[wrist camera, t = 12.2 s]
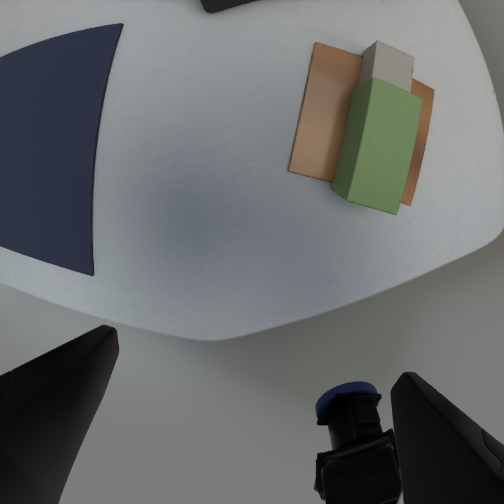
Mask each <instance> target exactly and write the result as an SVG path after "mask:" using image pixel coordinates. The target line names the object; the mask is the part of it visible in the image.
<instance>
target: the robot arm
mask: <svg viewBox="0 0 504 504" xmlns="http://www.w3.org/2000/svg"><path fill="white" fill-rule="evenodd" d="M118 354H119V344H118V336H117V330H116V329H115V328H114V327H111V326H107V325H101V326H99V327H97V328H95V329H93V330H91V331H89V332H87V333H85V334H83V335H81V336H79V337H77V338H75V339H73V340H71V341H69V342H67V343H65V344H63V345H61V346H59V347H57V348H55V349H53V350H51V351H49V352H47V353H45V354H43V355H41V356H39V357H37V358H35V359H33V360H31V361H29V362H27V363H25V364H23V365H21V366H19V367H17V368H15V369H13V370H12V371H9V372H7V373H5V374H3V375H1V376H0V504H59V501H60V497H61V495H62V492H63V489H64V487H65V484H66V481H67V478H68V476H69V473H70V471H71V468H72V466H73V464H74V461H75V459H76V456H77V454H78V451H79V449H80V447H81V444H82V442H83V440H84V437H85V435H86V433H87V431H88V429H89V426H90V424H91V422H92V420H93V418H94V415H95V413H96V411H97V409H98V407H99V405H100V403H101V401H102V398H103V396H104V394H105V391H106V388H107V385H108V382H109V379H110V377H111V374H112V371H113V368H114V365H115V363H116V360H117V357H118ZM390 395H391V404H392V414H393V426H394V432H393V429H389V430H388V431H386V432H382V428H381V425H380V417H379V414H378V412H377V408H376V405H377V404H378V402H379V401H380V400H381V398H382V395H381V394H351V393H337V394H335V395H334V396H333V397H332V399H331V400H330V402H329V404H328V405H327V407H326V408H325V410H324V411H323V413H322V414H321V416H320V417H319V419H318V420H317V425H319V426H328V428H329V434H330V440H331V445H332V450H331V451H327V452H324V453H322V452H321V453H318V454H317V459H316V479H315V485H314V490H315V491H317V492H319V495H320V497H321V499H322V500H323V501H326V504H398V503H399V500H400V498H401V495H402V491H403V501H404V504H504V445H503V444H502V443H500V442H499V441H497V440H496V439H495V438H494V437H493V436H491V435H490V434H489V433H488V432H486V431H485V430H484V429H483V428H481V427H480V426H479V425H478V424H477V423H476V422H474V421H473V420H472V419H471V418H470V417H468V416H467V415H466V414H465V413H464V412H462V411H461V410H460V409H459V408H457V407H456V406H455V405H454V404H452V403H451V402H450V401H449V400H448V399H447V398H445V397H444V396H443V395H442V394H440V393H439V392H438V391H437V390H436V389H434V388H433V387H432V386H431V385H429V384H428V383H427V382H426V381H425V380H423V379H422V378H421V377H420V376H418V375H417V374H416V373H414V372H404V373H403V374H402V375H401V376H400V377H399V379H398V381H397V382H396V383H395V384H394V386H393V387H392V389H391V394H390ZM400 477H401V478H400Z"/></svg>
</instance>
